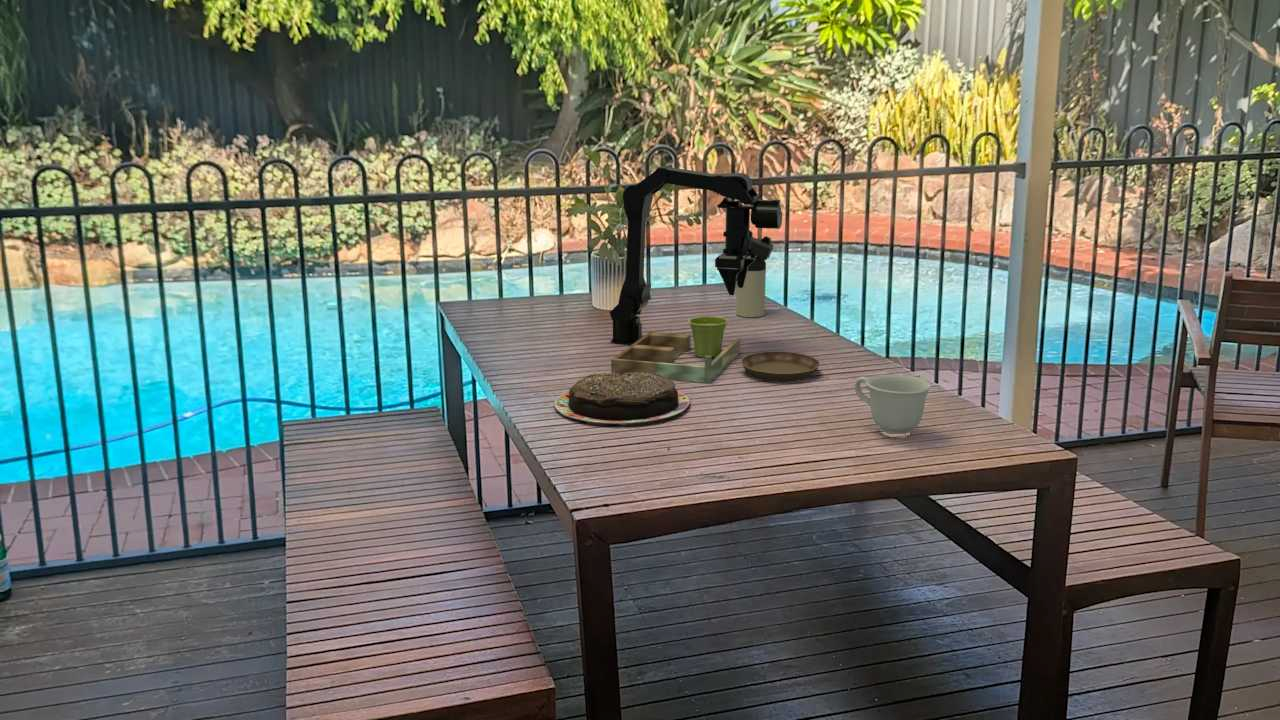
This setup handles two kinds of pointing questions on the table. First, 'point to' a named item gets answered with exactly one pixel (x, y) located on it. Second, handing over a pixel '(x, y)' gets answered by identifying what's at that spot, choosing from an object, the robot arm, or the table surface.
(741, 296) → the travel mug
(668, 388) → the chocolate cake
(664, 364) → the compartment box
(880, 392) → the teacup
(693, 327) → the plant pot
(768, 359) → the plant saucer
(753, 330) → the table surface
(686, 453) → the table surface
